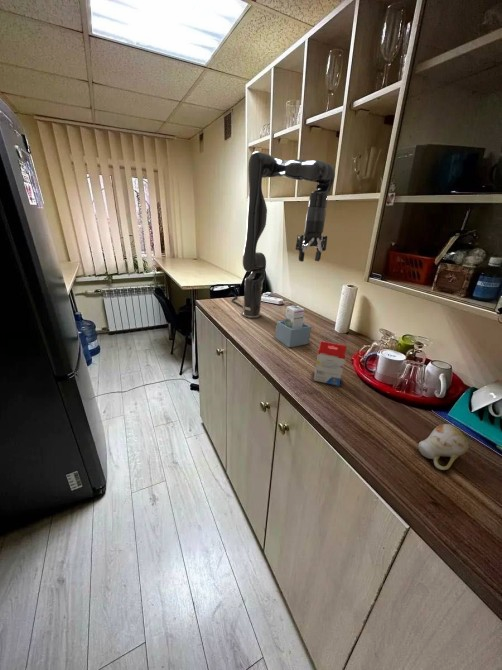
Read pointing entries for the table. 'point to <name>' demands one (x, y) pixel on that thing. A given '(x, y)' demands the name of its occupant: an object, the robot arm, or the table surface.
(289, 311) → the syrup box
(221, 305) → the table surface
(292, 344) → the tidy
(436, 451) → the mug
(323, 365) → the ink box
